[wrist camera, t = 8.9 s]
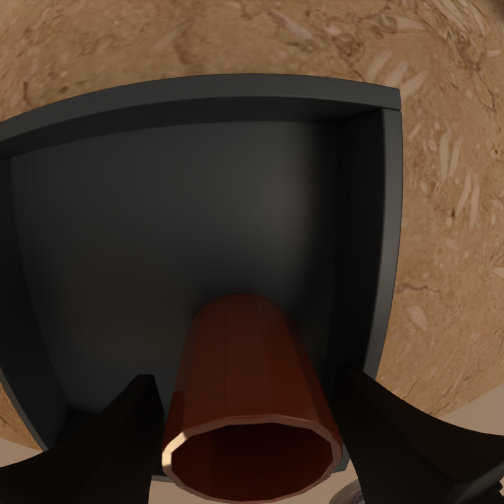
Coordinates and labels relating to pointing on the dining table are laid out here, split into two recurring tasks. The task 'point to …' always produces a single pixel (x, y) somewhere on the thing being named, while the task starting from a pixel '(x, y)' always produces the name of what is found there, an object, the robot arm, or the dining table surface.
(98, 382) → the bin
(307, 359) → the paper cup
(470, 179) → the dining table surface
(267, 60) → the dining table surface
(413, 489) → the robot arm
